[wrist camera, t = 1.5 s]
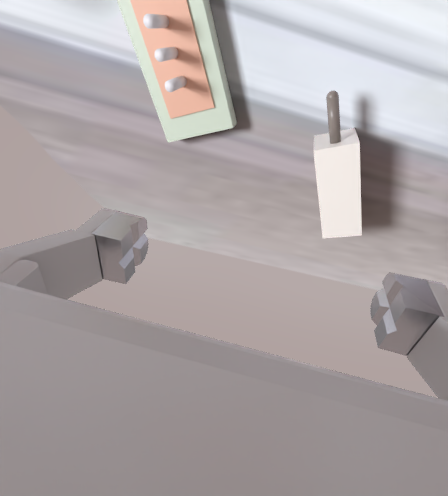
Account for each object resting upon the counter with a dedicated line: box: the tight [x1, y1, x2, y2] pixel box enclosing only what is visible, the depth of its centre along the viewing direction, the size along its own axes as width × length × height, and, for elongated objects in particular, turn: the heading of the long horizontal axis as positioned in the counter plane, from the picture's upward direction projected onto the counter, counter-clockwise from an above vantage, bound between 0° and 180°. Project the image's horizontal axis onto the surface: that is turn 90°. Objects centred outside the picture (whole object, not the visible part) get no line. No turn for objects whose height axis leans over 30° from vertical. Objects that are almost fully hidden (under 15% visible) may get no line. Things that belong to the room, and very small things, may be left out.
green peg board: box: [117, 0, 237, 142], centre depth 29 cm, size 8×16×5 cm, turn 16°
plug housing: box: [314, 91, 362, 238], centre depth 31 cm, size 4×14×5 cm, turn 16°
